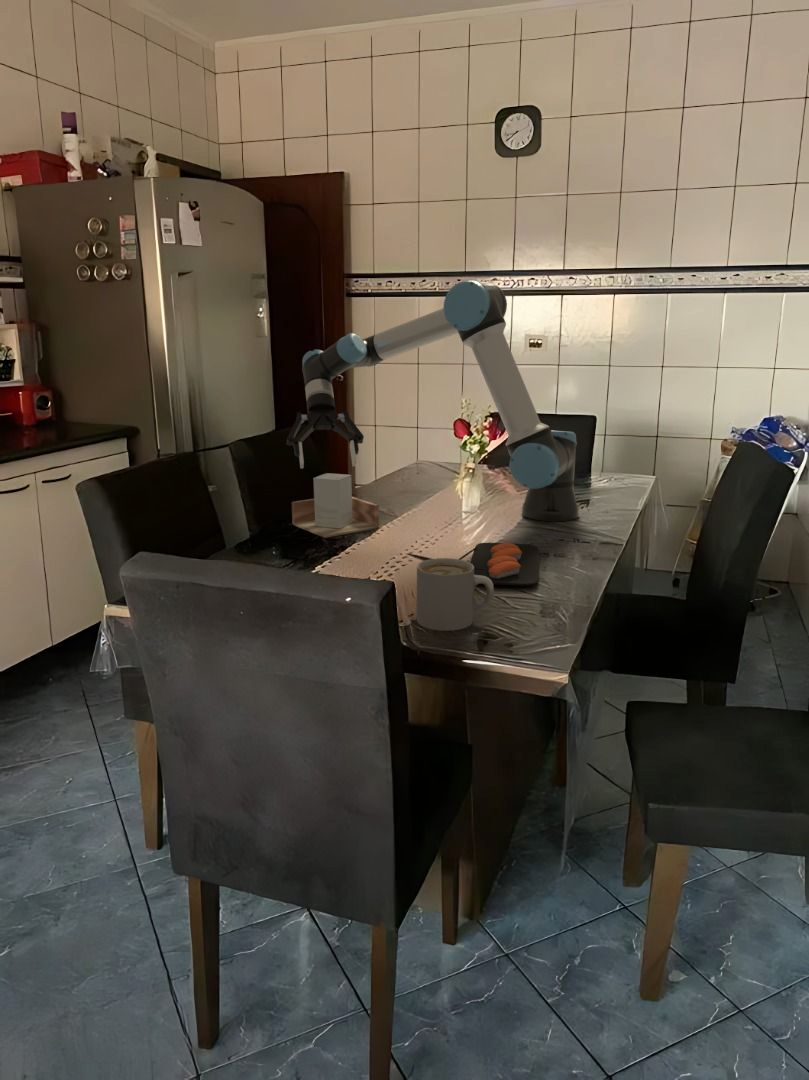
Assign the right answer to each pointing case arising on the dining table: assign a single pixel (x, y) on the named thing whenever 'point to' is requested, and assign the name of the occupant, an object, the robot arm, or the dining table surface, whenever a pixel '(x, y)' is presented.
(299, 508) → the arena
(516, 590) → the dining table surface
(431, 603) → the coffee mug
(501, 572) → the sushi plate
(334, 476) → the supplement box
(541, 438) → the robot arm
